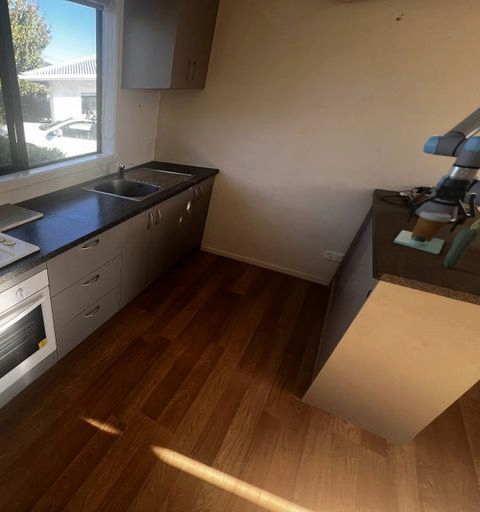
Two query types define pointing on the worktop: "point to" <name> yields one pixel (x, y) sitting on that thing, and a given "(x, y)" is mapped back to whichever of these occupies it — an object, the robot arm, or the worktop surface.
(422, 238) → the button
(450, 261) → the vegetable
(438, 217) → the disposable coffee cup
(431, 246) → the scale
